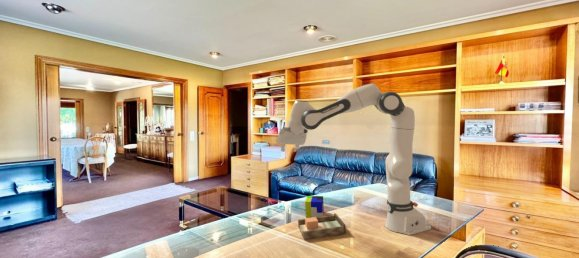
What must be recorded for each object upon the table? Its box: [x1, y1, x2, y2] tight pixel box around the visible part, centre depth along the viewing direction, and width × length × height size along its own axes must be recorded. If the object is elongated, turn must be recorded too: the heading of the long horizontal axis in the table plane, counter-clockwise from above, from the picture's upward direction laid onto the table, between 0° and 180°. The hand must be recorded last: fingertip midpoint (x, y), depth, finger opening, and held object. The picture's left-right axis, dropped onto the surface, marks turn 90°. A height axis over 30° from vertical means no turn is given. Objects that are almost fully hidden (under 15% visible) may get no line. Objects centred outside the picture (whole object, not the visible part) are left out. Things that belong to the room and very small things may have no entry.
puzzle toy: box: [304, 195, 325, 218], centre depth 158 cm, size 10×10×10 cm
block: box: [304, 217, 318, 230], centre depth 137 cm, size 6×5×4 cm
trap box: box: [297, 213, 347, 240], centre depth 138 cm, size 22×15×5 cm
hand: (288, 151), depth 146 cm, fingers open, 8 cm apart
